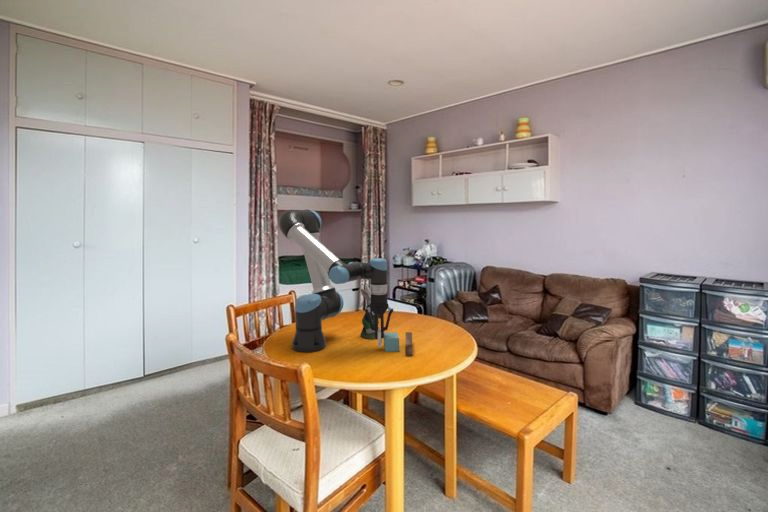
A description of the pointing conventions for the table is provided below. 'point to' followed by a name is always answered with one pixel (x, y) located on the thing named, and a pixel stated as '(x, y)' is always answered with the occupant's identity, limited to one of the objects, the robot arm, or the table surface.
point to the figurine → (366, 330)
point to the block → (391, 342)
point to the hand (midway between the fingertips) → (379, 345)
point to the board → (408, 344)
